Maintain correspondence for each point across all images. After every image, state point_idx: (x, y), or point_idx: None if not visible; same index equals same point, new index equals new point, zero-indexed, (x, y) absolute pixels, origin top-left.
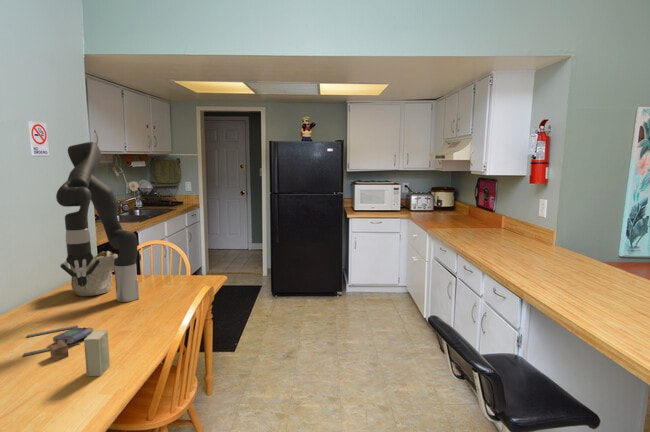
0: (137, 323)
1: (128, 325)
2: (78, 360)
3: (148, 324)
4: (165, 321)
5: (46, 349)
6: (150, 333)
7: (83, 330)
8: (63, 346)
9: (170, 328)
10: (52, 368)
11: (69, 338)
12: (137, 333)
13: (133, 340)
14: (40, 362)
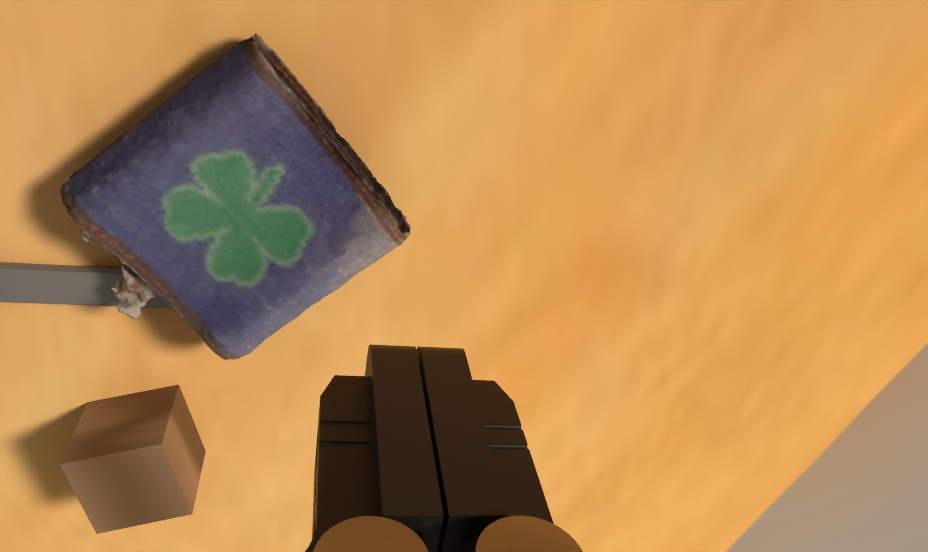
0: (769, 153)
1: (699, 150)
2: (261, 526)
3: (812, 232)
4: (922, 251)
5: (34, 291)
6: (731, 394)
7: (329, 240)
8: (163, 515)
9: (859, 388)
10: (116, 549)
11: (207, 337)
12: (673, 348)
13: (605, 437)
14: (26, 446)
